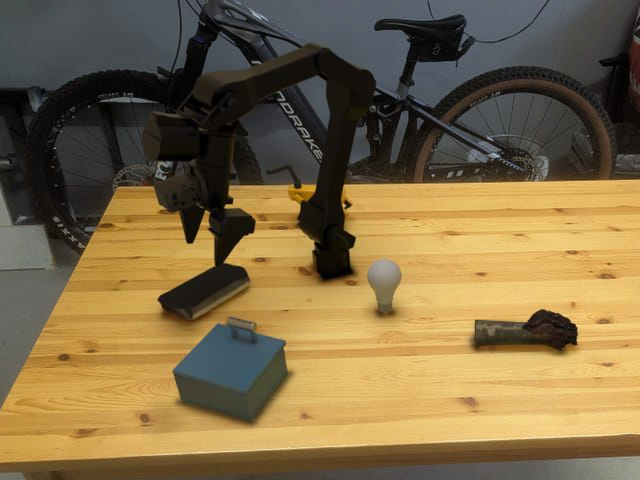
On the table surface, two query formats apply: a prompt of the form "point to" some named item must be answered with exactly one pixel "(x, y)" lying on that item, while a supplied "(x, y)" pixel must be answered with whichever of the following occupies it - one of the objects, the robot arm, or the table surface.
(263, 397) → the compartment
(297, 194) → the robot dog
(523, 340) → the mossy log
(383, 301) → the lightbulb
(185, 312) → the black sponge
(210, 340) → the blue-grey box lid
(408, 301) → the table surface
